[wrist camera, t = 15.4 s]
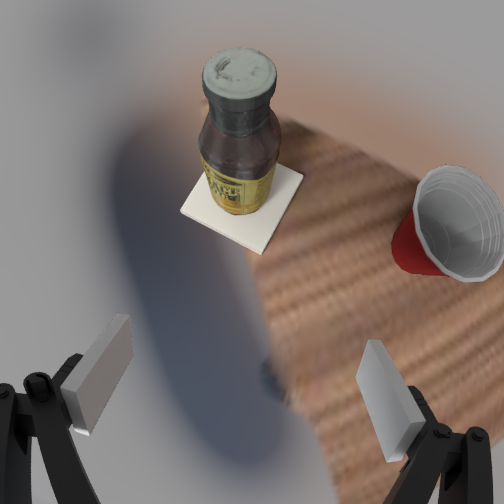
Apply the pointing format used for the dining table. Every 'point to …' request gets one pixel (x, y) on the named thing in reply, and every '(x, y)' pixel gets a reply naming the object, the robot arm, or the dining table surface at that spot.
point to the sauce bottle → (239, 129)
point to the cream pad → (251, 225)
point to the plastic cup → (452, 227)
